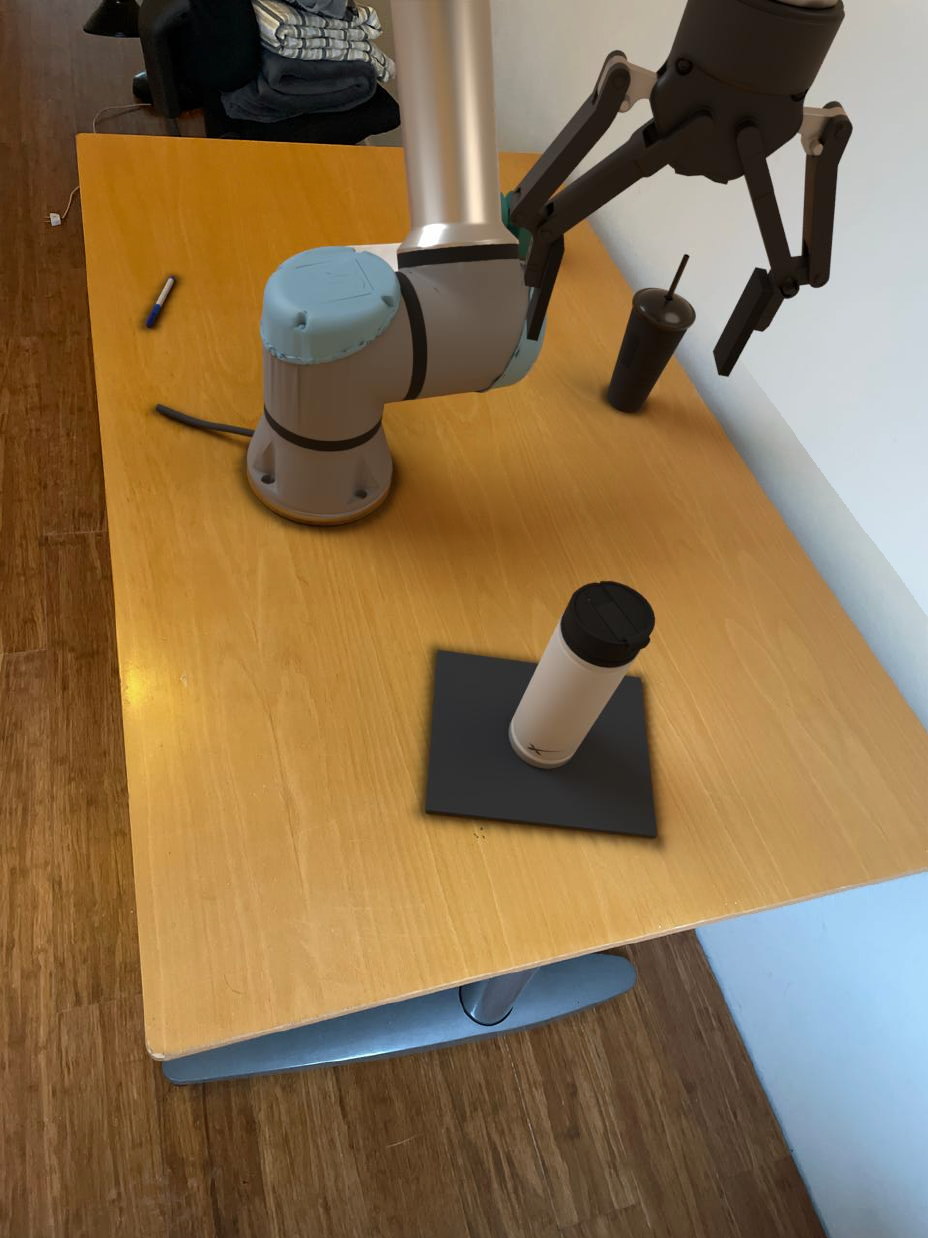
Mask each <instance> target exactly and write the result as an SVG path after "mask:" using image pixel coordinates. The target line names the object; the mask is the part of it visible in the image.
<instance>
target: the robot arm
mask: <svg viewBox="0 0 928 1238" xmlns="http://www.w3.org/2000/svg"><path fill="white" fill-rule="evenodd" d="M389 7H390V8H389V9H390V17H391V28H392V29H391V30H392V38H393V39H392V40H393V50H394V51H393V53H394V61H395V73H396V85H397V96H398V107H399V108H398V109H399V117H400V129H401V130H400V131H401V138H402V141H401V142H402V151H403V152H402V153H403V162H404V173H405V184H406V185H405V186H406V195H407V197H406V198H407V206H408V217H409V218H408V220H409V231H408V233H407V235H406V236H405V238H404V239H403V241H402V242H400V243H401V245H400V246H399V248H398V249H397V250H396V252H397V263H398V271H396V272H394V270H393V269H392V267H391V266H390V265H389V264H388V263H387V262H386V261H385V260H383V259H382V258H380V257H379V256H377V255H375V254H373V253H370V252H368V251H362V252H360V253H357V252H356V251H355V249H354V248H353V247H346V246H347V245H345V246H344V245H327V246H320V247H319V246H318V247H314V248H311V249H307V250H304V251H301V252H299V253H296V254H294V255H292V256H291V257H289V258H287V259H286V260H284V261H283V262H281V264H280V265H278V266H277V268H276V270H275V272H272V274H271V275H270V276H269V278H268V280H267V281H266V284H265V286H264V291H263V297H262V298H263V300H262V302H263V303H262V313H261V317H260V321H259V322H260V323H259V335H260V339H261V343H262V388H263V389H262V392H263V395H262V396H263V411H262V414H261V416H260V418H259V420H258V423H257V425H256V428H255V429H252V428H245V427H242V426H236V425H230V424H226V423H219V422H212V421H207V420H203V419H199V418H196V417H193V416H190V415H187V414H185V413H183V412H180V411H179V410H175V409H173V408H170V407H168V406H165V405H163V404H160V403H157V404H156V406H155V411H156V412H158V413H161V414H163V415H165V416H168V417H170V418H173V419H174V420H175V419H176V420H178V421H180V422H182V423H186V424H188V425H191V426H194V427H196V428H200V429H204V430H210V431H216V432H223V433H227V434H228V433H229V434H234V435H239V436H243V437H247V438H251V439H250V442H249V445H248V448H247V451H246V475H247V480H248V484H249V486H250V488H251V490H252V492H253V494H254V495H255V496H256V497H257V498H258V500H259V501H260V502H261V503H262V504H263V505H264V506H265V507H267V508H268V509H269V510H271V511H272V512H274V513H276V514H278V515H280V516H281V517H284V518H286V519H289V520H291V521H294V522H297V523H301V524H306V525H313V526H338V525H343V524H349V523H353V522H355V521H358V520H360V519H362V518H365V517H366V516H368V515H370V514H371V513H373V512H374V511H375V510H376V509H378V508H379V507H380V506H381V505H382V504H383V503H384V501H385V500H386V498H387V497H388V494H389V491H390V489H391V484H392V478H393V471H394V470H393V467H394V466H393V459H392V455H391V451H390V447H389V443H388V439H387V437H386V432H385V430H384V426H383V416H384V415H383V414H384V408H385V405H386V404H392V403H400V402H406V401H416V400H423V399H430V398H438V397H439V398H440V397H446V396H453V395H459V394H460V395H461V394H468V393H475V394H477V393H478V394H484V393H488V392H490V391H491V390H495V389H500V388H505V387H510V386H513V385H516V384H518V383H519V382H521V381H522V380H523V379H525V378H526V376H527V375H528V374H529V373H530V371H531V370H532V368H533V366H534V364H535V363H536V362H537V360H538V358H539V356H540V354H541V351H542V348H543V344H544V340H545V335H546V331H547V330H546V329H547V319H548V308H549V305H550V301H551V299H552V295H553V291H554V287H555V284H556V280H557V277H558V274H559V271H560V268H561V264H562V261H563V258H564V254H565V252H566V251H565V250H566V247H565V234H566V233H567V232H568V231H570V230H571V229H573V228H574V227H576V226H578V224H580V223H581V222H582V221H584V220H586V218H588V217H590V216H591V215H592V214H594V213H595V212H596V211H598V210H599V209H601V208H602V207H603V206H605V205H606V204H608V203H609V202H610V201H612V200H614V198H616V197H618V196H619V195H621V194H622V193H623V192H624V191H626V190H627V189H629V188H631V187H632V186H633V185H635V184H636V183H637V182H638V181H640V180H641V179H643V178H644V179H646V178H647V179H648V178H650V177H652V176H654V175H655V174H656V173H658V172H660V171H661V170H662V169H664V168H665V167H666V166H669V167H670V168H671V169H673V171H674V174H675V175H680V176H685V177H701V176H702V177H704V178H706V179H708V180H710V181H711V182H713V183H716V184H721V185H728V183H729V182H731V181H735V180H738V179H740V178H741V177H744V180H745V183H746V187H747V191H748V194H749V198H750V202H751V203H752V208H753V212H754V215H755V219H756V222H757V225H758V228H759V232H760V235H761V239H762V243H763V246H764V250H765V254H766V257H767V261H768V264H769V267H770V269H769V270H767V268H763V267H757V266H755V267H754V269H753V271H752V273H751V275H750V277H749V278H748V281H747V283H746V285H745V286H744V289H743V291H742V293H741V295H740V296H739V299H738V300H737V303H736V304H735V307H734V308H733V309H732V310H733V311H732V312H731V314H730V316H729V318H728V320H727V322H726V324H725V326H724V328H723V330H722V332H721V334H720V336H719V338H718V339H717V342H716V344H715V345H714V346H715V347H714V348H713V350H712V354H713V358H714V363H715V367H716V371H717V372H716V373H717V376H721V377H726V378H729V377H730V376H731V373H732V371H733V369H734V368H735V366H736V364H737V362H738V360H739V358H740V357H741V355H742V353H743V351H744V349H745V348H746V346H747V343H748V342H749V340H750V339H751V336H752V334H753V333H754V331H756V332H762V333H763V332H765V331H766V330H767V329H768V328H769V327H770V326H771V324H772V322H773V320H774V318H775V317H776V315H777V313H778V311H779V309H780V308H781V306H782V305H783V302H784V300H790V299H792V298H794V297H796V296H797V295H798V294H799V292H800V289H801V288H800V286H807V285H809V286H810V287H811V288H813V289H819V288H822V287H824V286H826V285H827V284H828V283H829V281H830V277H831V276H830V275H831V264H832V253H833V252H832V251H833V238H834V227H835V226H834V225H835V213H836V199H837V185H838V175H839V173H838V172H839V164H840V162H841V160H842V157H843V155H844V154H845V153H844V152H845V151H846V148H847V146H848V143H849V141H850V138H851V137H852V134H853V130H854V127H853V124H852V121H851V120H850V117H849V116H848V114H847V112H846V111H845V108H844V107H843V105H842V104H841V102H839V101H837V100H831V101H828V102H827V103H825V104H824V105H823V107H813V106H804V105H805V100H806V97H807V94H808V93H809V91H810V89H811V88H812V86H813V84H814V82H815V81H816V78H817V76H818V75H819V72H820V70H821V69H822V66H823V64H824V61H825V59H826V58H827V55H828V53H829V51H830V50H831V47H832V44H833V42H834V40H835V39H836V36H837V34H838V32H839V30H840V28H841V26H842V23H843V22H844V19H845V17H846V13H845V12H846V11H845V5H844V2H843V0H687V1H686V3H685V7H684V10H683V13H682V16H681V19H680V22H679V24H678V28H677V31H676V33H675V36H674V39H673V43H672V45H671V49H670V51H669V54H668V56H667V57H666V59H665V61H664V62H663V64H662V65H661V66H660V67H659V68H658V70H656V71H653V70H650V69H647V68H644V67H642V66H640V65H638V64H634V63H631V62H629V61H628V56H627V54H626V53H625V52H624V51H623V50H619V49H615V50H612V51H611V52H609V53H608V54H607V55H606V57H605V59H604V61H603V64H602V67H601V69H600V72H599V75H598V77H597V80H596V82H595V85H594V87H593V90H592V92H591V93H590V95H588V97H587V98H586V100H585V101H584V102H583V103H582V104H581V106H580V107H579V108H578V109H577V110H576V111H575V113H574V115H572V116H571V118H570V119H569V121H568V122H567V123H566V125H565V126H564V127H563V128H562V129H561V131H560V132H559V133H558V134H557V136H556V137H555V138H554V139H553V141H552V142H551V143H550V144H549V146H547V148H546V149H545V151H543V153H542V154H541V155H540V157H539V158H538V159H537V161H536V162H535V163H534V164H533V166H532V167H531V168H530V170H528V172H527V173H526V174H525V175H524V177H523V178H522V179H521V180H520V181H519V183H518V184H517V185H516V186H515V188H514V189H513V190H512V191H513V192H512V194H511V199H510V220H511V223H512V224H513V225H514V226H515V227H517V228H522V227H523V228H525V229H527V230H528V231H529V232H530V233H531V234H532V236H531V240H530V244H529V248H528V252H527V255H526V259H525V260H521V259H519V240H518V239H517V238H516V237H515V236H514V235H513V234H512V233H511V232H510V231H509V230H508V229H507V228H506V227H505V226H504V224H503V223H502V219H501V200H500V191H501V184H500V183H501V182H500V181H501V180H500V163H499V143H498V124H497V106H496V86H495V68H494V66H495V65H494V48H493V46H494V45H493V28H492V12H491V11H492V10H491V9H492V8H491V0H389ZM644 99H646V100H648V102H649V106H650V110H651V114H652V117H651V118H650V119H649V120H648V121H646V122H644V123H643V124H642V125H641V126H640V127H638V128H636V130H635V131H633V133H631V135H630V137H629V138H628V140H626V141H625V142H624V143H622V144H621V145H620V146H619V147H617V148H616V149H615V150H613V151H612V152H611V153H609V154H608V155H607V156H606V157H604V158H602V159H601V160H600V161H599V162H597V163H596V164H594V165H593V166H592V167H591V168H590V169H588V170H587V171H585V172H584V173H582V174H581V175H580V176H578V177H577V178H576V179H575V180H574V181H572V182H571V183H569V184H568V185H567V186H565V187H563V189H561V190H560V191H559V192H557V191H558V189H560V187H561V186H562V185H563V184H564V183H565V182H566V180H567V179H568V178H569V176H571V174H572V173H573V172H574V171H575V170H576V168H577V167H578V166H579V164H580V163H581V162H582V161H583V160H584V159H585V157H586V156H587V155H588V154H589V153H590V152H591V150H592V149H593V148H594V147H595V146H596V144H597V143H598V142H599V141H600V140H601V138H603V136H604V135H605V134H606V133H607V131H608V130H609V128H610V127H611V126H612V124H613V123H614V121H615V119H616V117H617V115H618V114H625V113H627V112H629V111H631V110H632V108H633V107H634V105H635V104H637V102H638V101H640V100H644ZM797 134H800V144H801V147H802V149H803V151H804V153H805V164H804V165H805V167H804V168H805V169H804V187H803V188H804V189H803V209H802V210H803V211H802V212H803V213H802V233H801V250H800V251H801V254H800V255H793V256H792V254H791V250H790V246H789V243H788V239H787V235H786V232H785V227H784V224H783V220H782V217H781V213H780V207H779V205H778V200H777V198H776V197H777V196H776V193H775V187H774V183H773V179H772V177H771V173H770V168H769V165H768V160H767V159H768V158H769V157H770V156H771V155H773V154H774V153H775V152H776V151H777V152H778V150H780V149H781V148H782V147H784V145H786V144H787V143H789V142H790V141H791V140H792V139H793V138H794V137H795V136H797ZM556 192H557V193H556ZM555 193H556V194H555ZM554 194H555V195H554ZM553 195H554V196H553Z"/></svg>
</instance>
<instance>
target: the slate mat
mask: <svg viewBox="0 0 928 1238" xmlns="http://www.w3.org/2000/svg"><path fill="white" fill-rule="evenodd" d="M435 658H436V659H435V672H434V673H435V674H434V685H433V701H432V714H431V725H430V726H431V727H430V738H429V739H430V741H429V755H428V767H427V782H426V795H425V808H424V809H425V810H424V812H425V813H426V814H434V815H442V816H443V815H444V816H451V817H459V818H461V817H462V818H469V819H478V820H486V821H487V820H488V821H498V822H506V823H507V822H508V823H515V824H521V825H522V824H523V825H532V826H541V827H549V828H558V829H569V830H576V831H586V832H595V833H603V834H613V835H621V836H630V837H637V838H638V837H640V838H649V839H656V838H657V837H658V829H657V818H656V809H655V799H654V789H653V780H652V770H651V760H650V752H649V743H648V733H647V724H646V714H645V705H644V694H643V684H642V677H640V676H632V675H627V674H625V676H624V677H623V679H622V681H621V682H620V684H619V685H618V687H617V688H616V690H615V691H614V693H613V694H612V696H611V698H610V699H609V701H608V702H607V704H606V705H605V707H604V708H603V710H602V711H601V713H600V715H599V716H598V718H597V719H596V721H595V722H594V724H593V725H592V727H591V728H590V730H589V731H588V733H587V735H586V736H585V738H584V739H583V741H582V742H581V744H580V745H579V747H578V748H577V750H576V752H575V753H574V755H573V756H572V758H571V759H570V760H569V761H568V762H567V763H566V764H564V765H562V766H560V767H557V768H551V769H544V768H538V767H535V766H532V765H530V764H528V763H527V762H525V761H524V760H522V759H521V758H520V757H519V756H518V755H517V754H516V752H515V751H514V749H513V747H512V745H511V743H510V739H509V726H510V723H511V721H512V719H513V716H514V714H515V712H516V710H517V708H518V706H519V704H520V702H521V700H522V698H523V696H524V693H525V691H526V689H527V687H528V685H529V683H530V681H531V679H532V677H533V675H534V672H535V670H536V668H537V666H538V664H539V662H530V661H523V660H517V659H516V660H515V659H508V658H501V657H494V656H488V655H487V656H486V655H479V654H473V653H465V652H459V651H450V650H444V649H437V651H436V657H435Z"/></svg>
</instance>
